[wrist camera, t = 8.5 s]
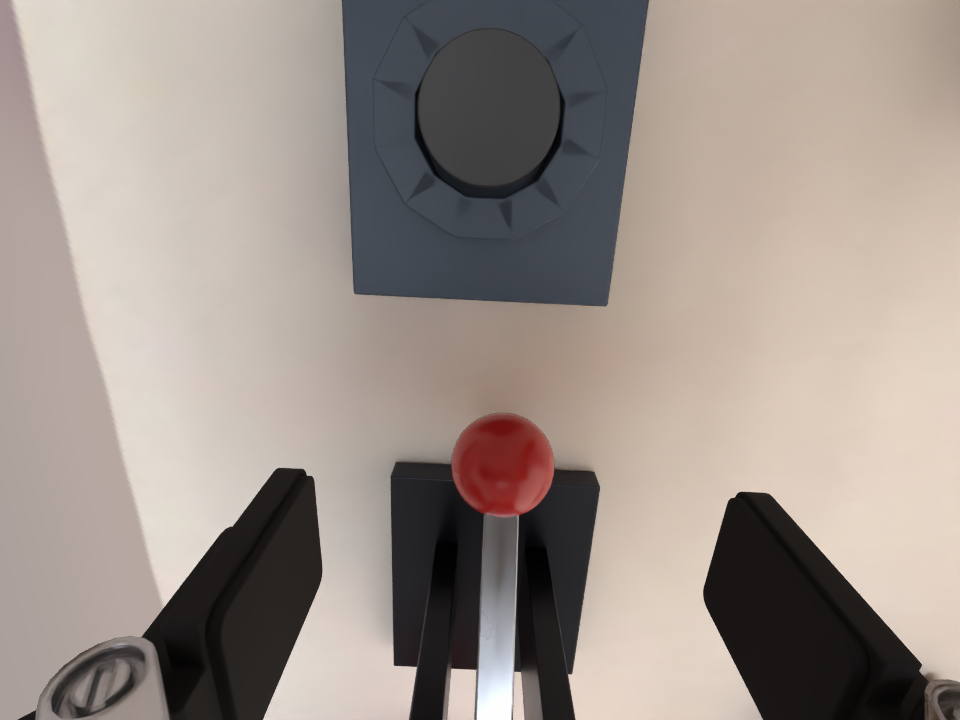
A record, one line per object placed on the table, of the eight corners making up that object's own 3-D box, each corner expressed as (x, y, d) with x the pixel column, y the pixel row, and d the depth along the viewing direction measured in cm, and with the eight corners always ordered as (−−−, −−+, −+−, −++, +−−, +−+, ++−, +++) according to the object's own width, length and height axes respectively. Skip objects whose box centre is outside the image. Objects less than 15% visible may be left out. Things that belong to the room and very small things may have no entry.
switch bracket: (395, 461, 21) (293, 750, 10) (594, 471, 21) (712, 771, 10) (397, 644, 25) (324, 1009, 14) (568, 653, 25) (634, 1025, 14)
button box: (357, -57, 15) (314, -143, 11) (637, -43, 15) (686, -124, 11) (368, 284, 19) (337, 305, 15) (594, 295, 19) (621, 319, 15)
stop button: (426, 46, 13) (417, 23, 11) (557, 52, 13) (567, 30, 11) (425, 185, 14) (417, 183, 12) (545, 191, 14) (553, 190, 12)
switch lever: (456, 415, 18) (451, 404, 14) (547, 419, 18) (563, 410, 14) (432, 828, 15) (419, 934, 12) (539, 833, 15) (557, 940, 12)
